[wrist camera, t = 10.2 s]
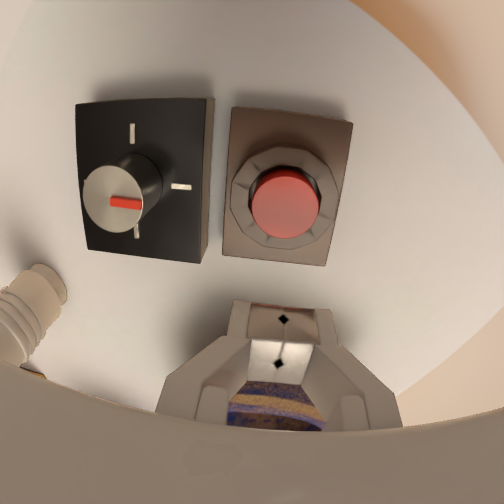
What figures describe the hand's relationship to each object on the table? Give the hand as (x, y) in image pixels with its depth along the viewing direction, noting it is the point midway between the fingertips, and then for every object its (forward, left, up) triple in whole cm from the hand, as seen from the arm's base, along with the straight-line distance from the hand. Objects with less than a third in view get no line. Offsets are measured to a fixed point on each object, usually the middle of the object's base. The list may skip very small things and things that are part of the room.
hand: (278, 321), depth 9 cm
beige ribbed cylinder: (+13, -24, -15) cm, 32 cm away
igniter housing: (0, +1, -15) cm, 15 cm away
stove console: (0, -10, -15) cm, 18 cm away
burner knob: (0, -10, -12) cm, 16 cm away
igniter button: (0, 0, -12) cm, 12 cm away
